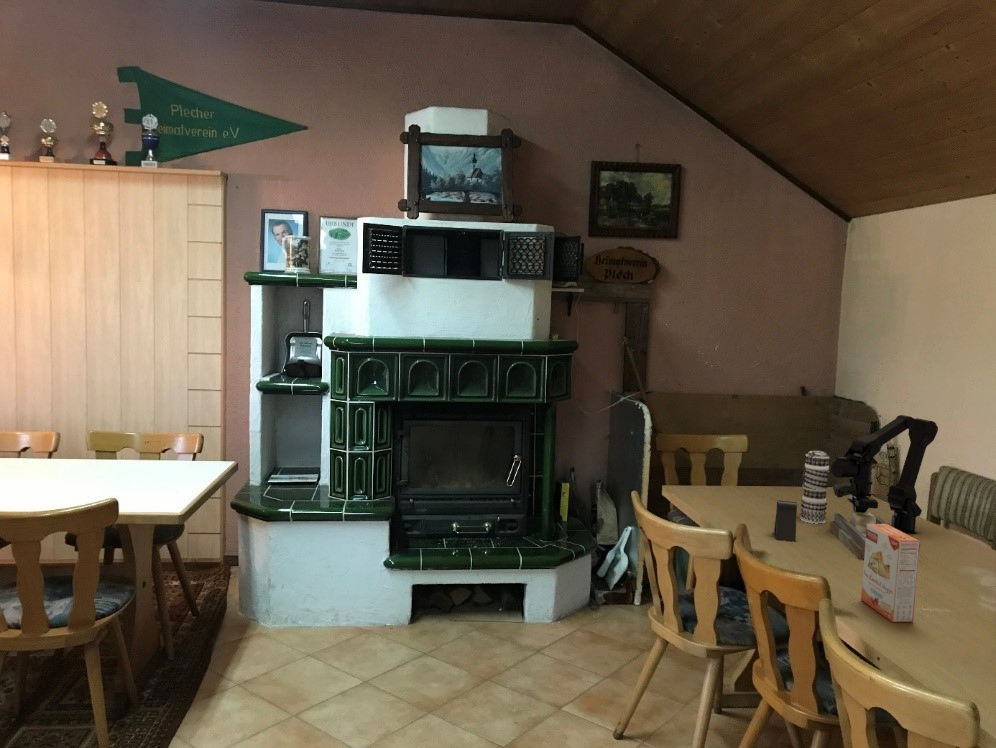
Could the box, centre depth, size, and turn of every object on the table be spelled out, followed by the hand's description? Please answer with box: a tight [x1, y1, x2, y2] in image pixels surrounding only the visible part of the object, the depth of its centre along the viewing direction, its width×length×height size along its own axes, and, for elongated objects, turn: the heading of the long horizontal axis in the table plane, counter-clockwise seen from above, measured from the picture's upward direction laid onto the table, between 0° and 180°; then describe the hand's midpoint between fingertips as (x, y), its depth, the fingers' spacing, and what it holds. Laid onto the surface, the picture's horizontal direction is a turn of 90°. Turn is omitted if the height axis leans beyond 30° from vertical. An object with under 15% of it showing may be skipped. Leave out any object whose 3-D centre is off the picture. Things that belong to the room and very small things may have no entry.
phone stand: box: [773, 499, 798, 543], centre depth 253 cm, size 9×6×12 cm, turn 164°
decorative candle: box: [799, 450, 831, 525], centre depth 273 cm, size 9×9×25 cm
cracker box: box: [860, 523, 921, 623], centre depth 192 cm, size 14×6×21 cm, turn 5°
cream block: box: [849, 511, 876, 532], centre depth 254 cm, size 6×6×5 cm
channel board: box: [829, 513, 890, 560], centre depth 247 cm, size 16×31×6 cm, turn 173°
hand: (857, 521), depth 260 cm, fingers closed
